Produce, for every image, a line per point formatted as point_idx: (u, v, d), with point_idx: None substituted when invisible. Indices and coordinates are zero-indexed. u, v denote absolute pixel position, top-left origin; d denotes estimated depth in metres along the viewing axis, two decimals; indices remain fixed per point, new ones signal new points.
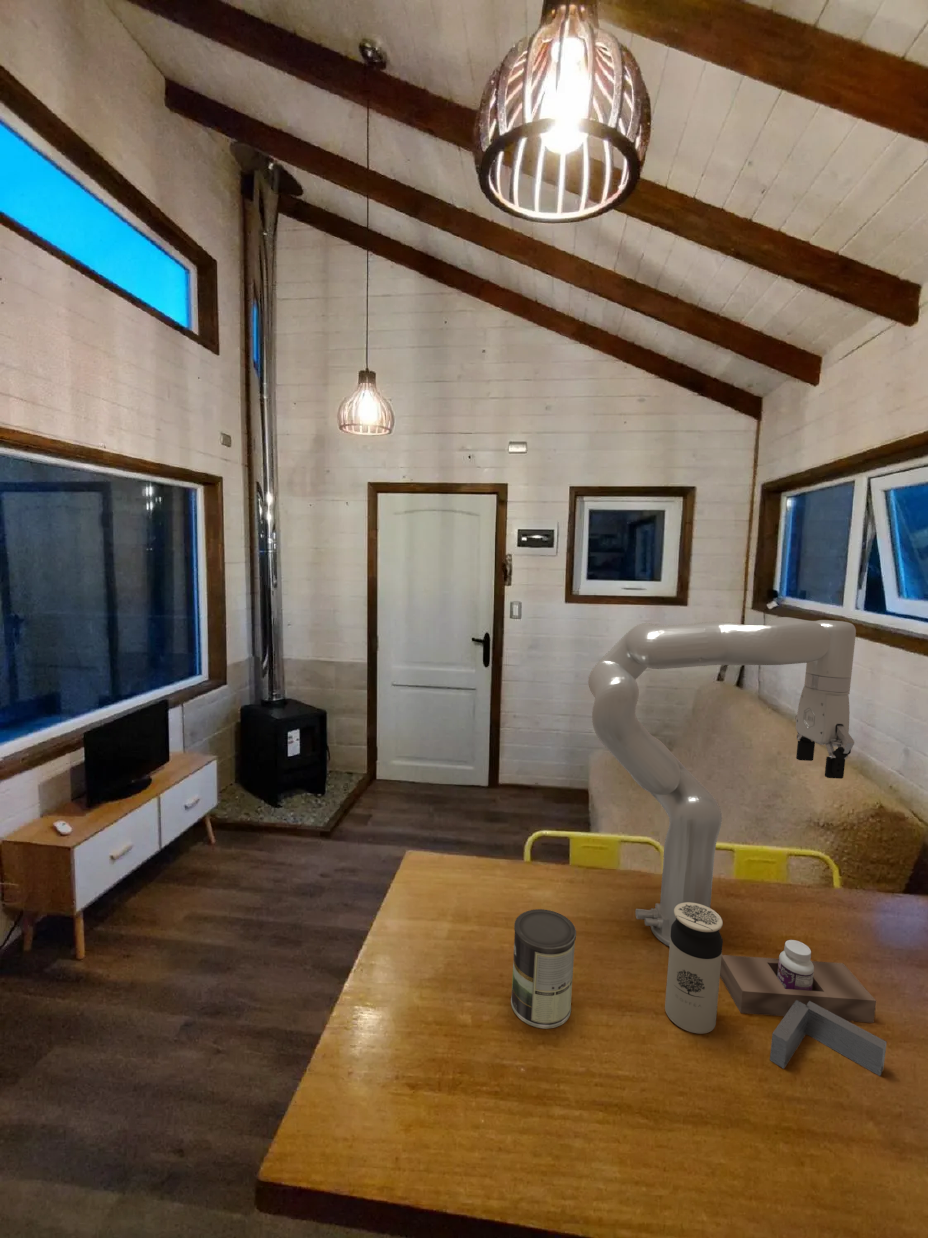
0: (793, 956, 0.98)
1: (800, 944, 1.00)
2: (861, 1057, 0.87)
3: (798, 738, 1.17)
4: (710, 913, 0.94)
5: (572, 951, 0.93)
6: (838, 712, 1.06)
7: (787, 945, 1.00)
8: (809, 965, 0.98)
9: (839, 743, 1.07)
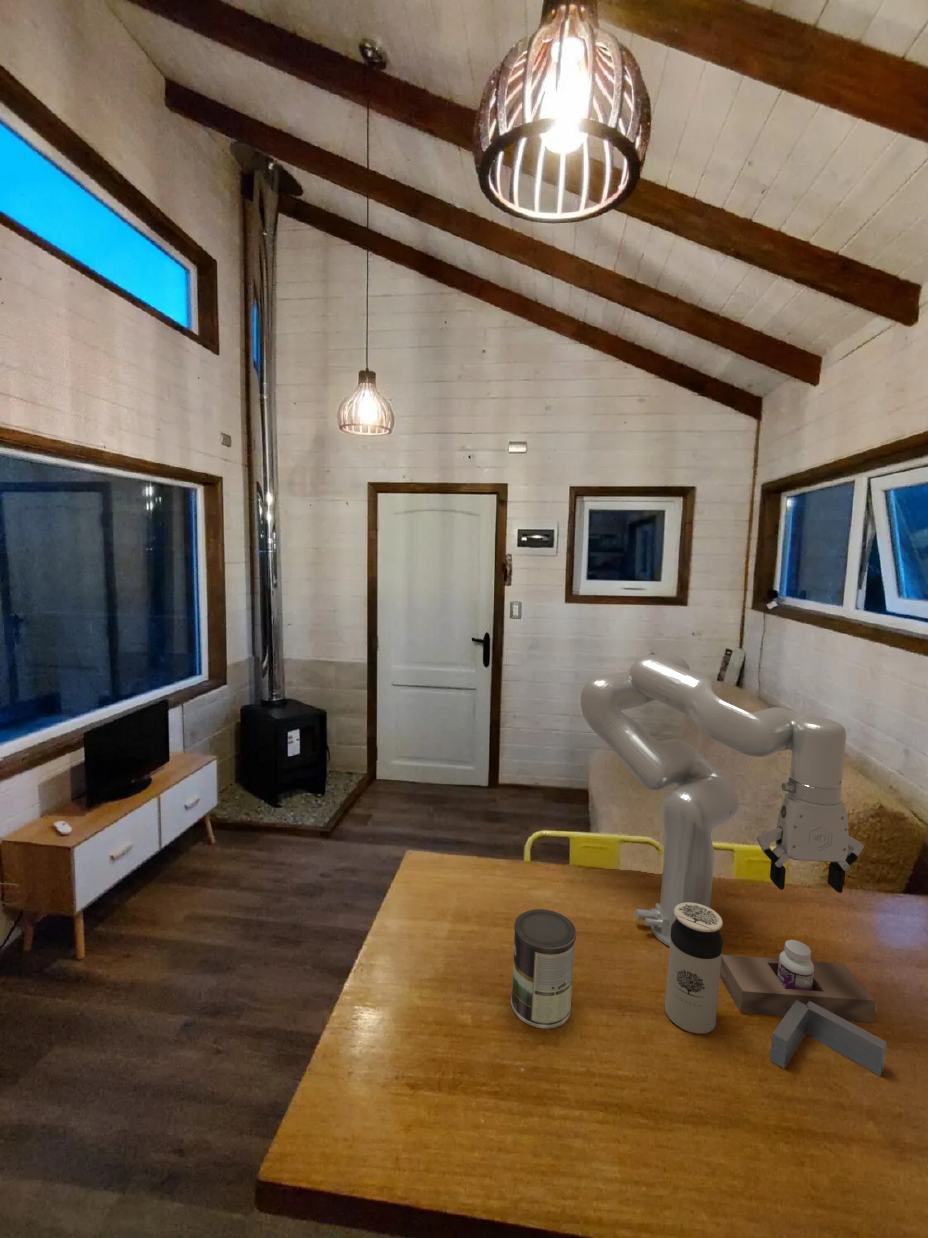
0: (793, 956, 0.98)
1: (800, 944, 1.00)
2: (861, 1057, 0.87)
3: (778, 865, 0.97)
4: (710, 913, 0.94)
5: (572, 951, 0.93)
6: None
7: (787, 945, 1.00)
8: (809, 965, 0.98)
9: None
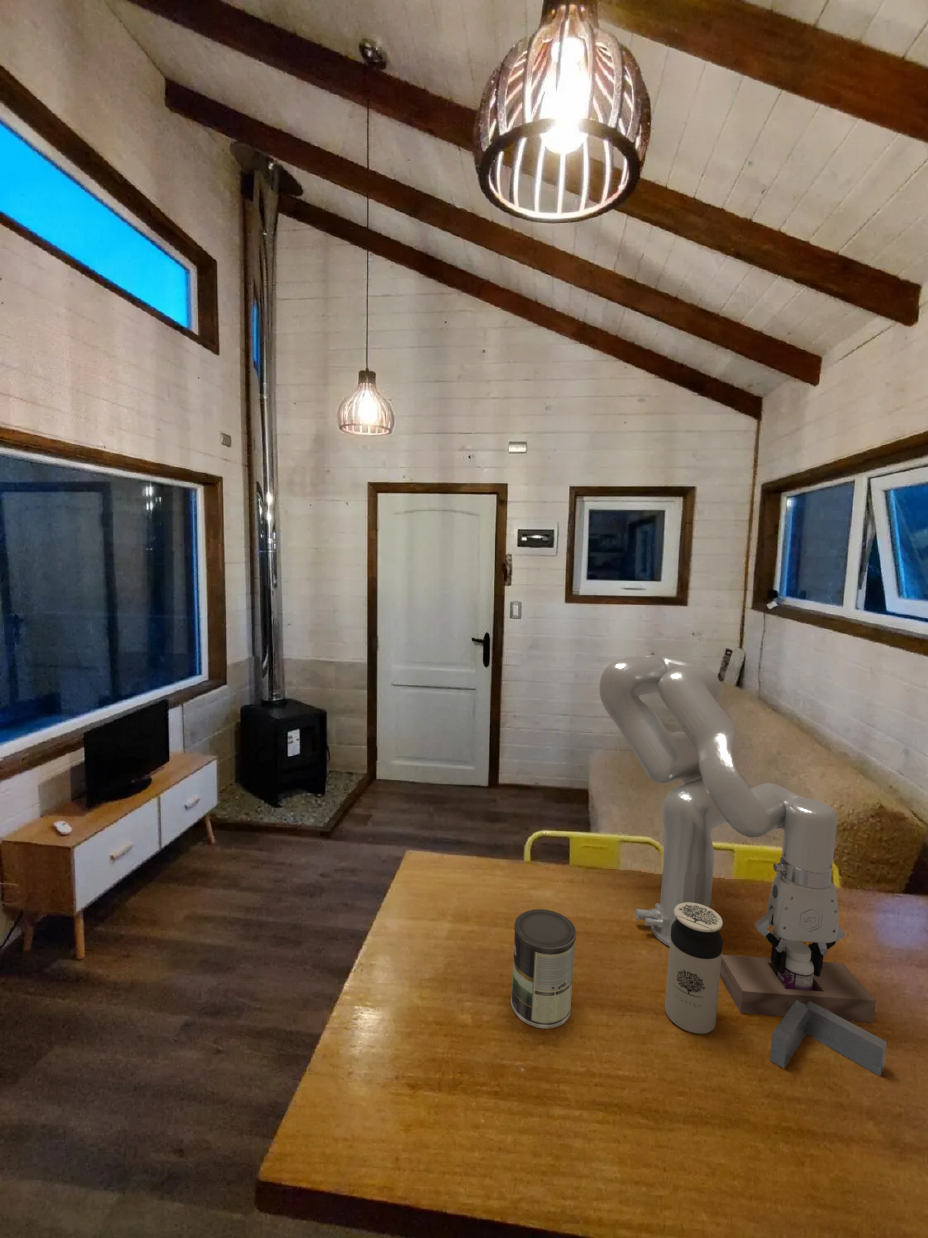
0: (793, 956, 0.98)
1: (800, 944, 1.00)
2: (861, 1057, 0.87)
3: (780, 950, 0.98)
4: (710, 913, 0.94)
5: (572, 951, 0.93)
6: None
7: (787, 945, 1.00)
8: (809, 965, 0.98)
9: None
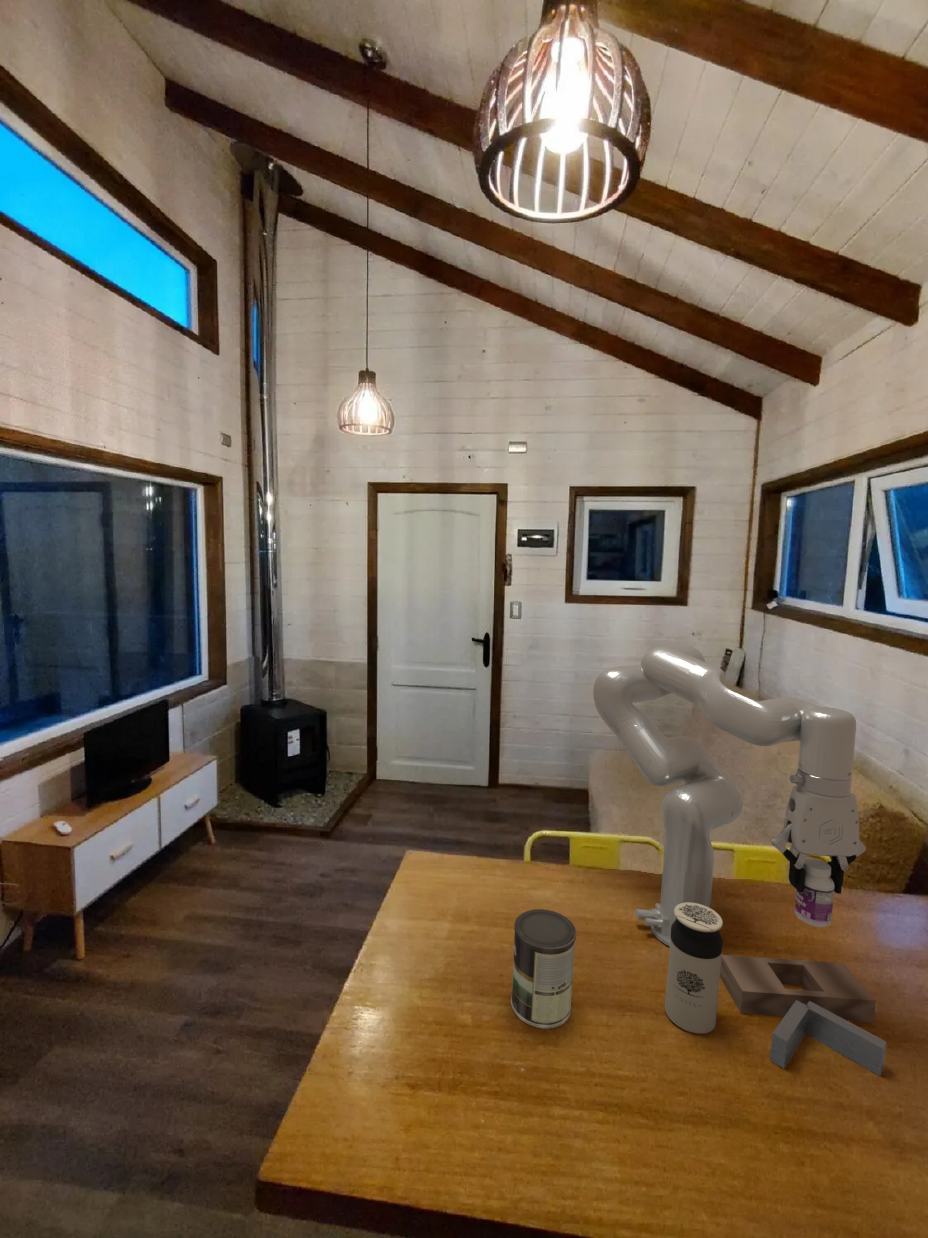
0: (812, 872, 0.93)
1: (819, 861, 0.95)
2: (861, 1057, 0.87)
3: (799, 866, 0.93)
4: (710, 913, 0.94)
5: (572, 951, 0.93)
6: None
7: (806, 862, 0.95)
8: (830, 881, 0.93)
9: None
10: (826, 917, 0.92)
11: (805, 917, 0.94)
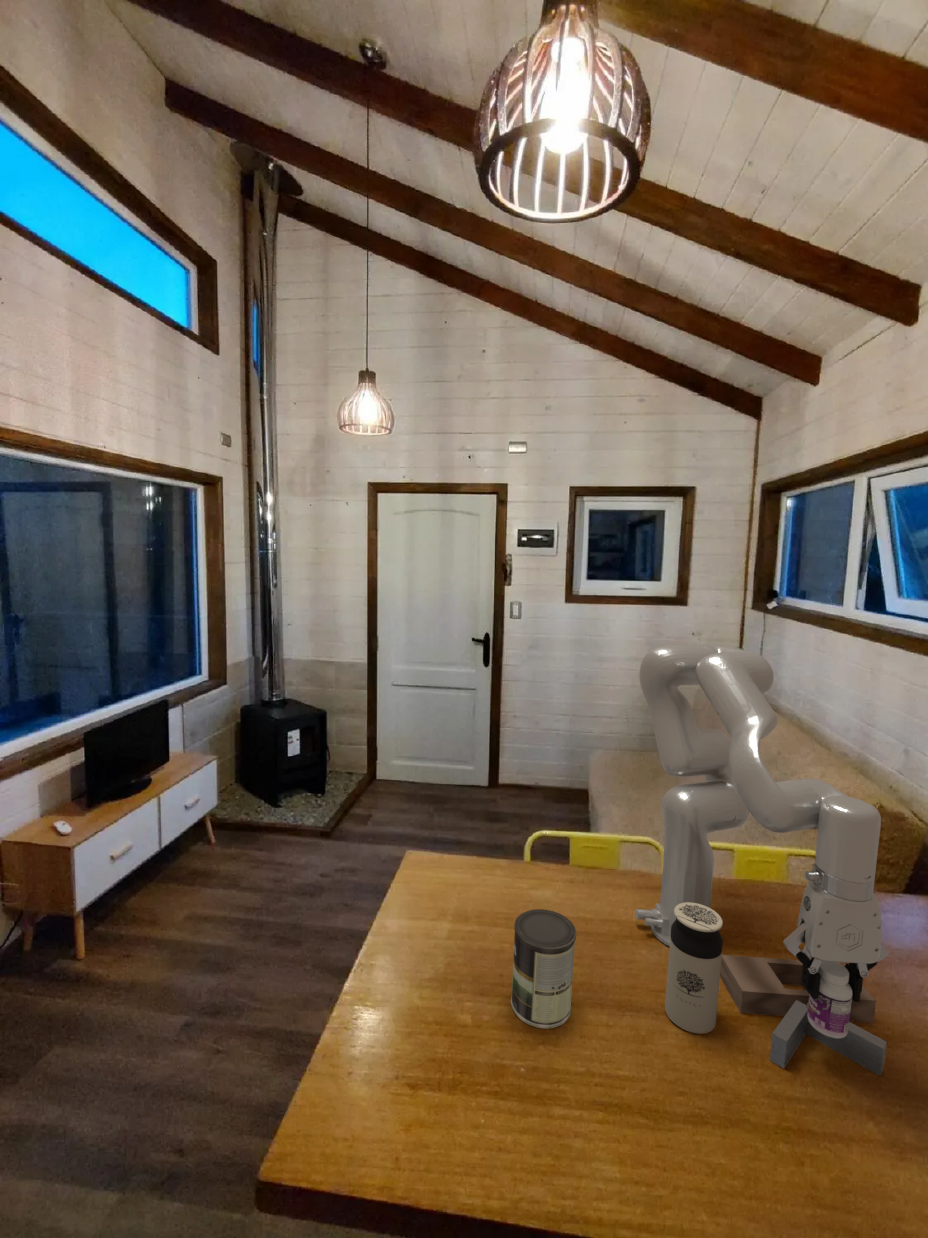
0: (828, 978, 0.85)
1: (836, 964, 0.87)
2: (861, 1057, 0.87)
3: (813, 971, 0.85)
4: (710, 913, 0.94)
5: (572, 951, 0.93)
6: None
7: (821, 965, 0.86)
8: (847, 989, 0.85)
9: None
10: (842, 1028, 0.84)
11: (819, 1025, 0.85)
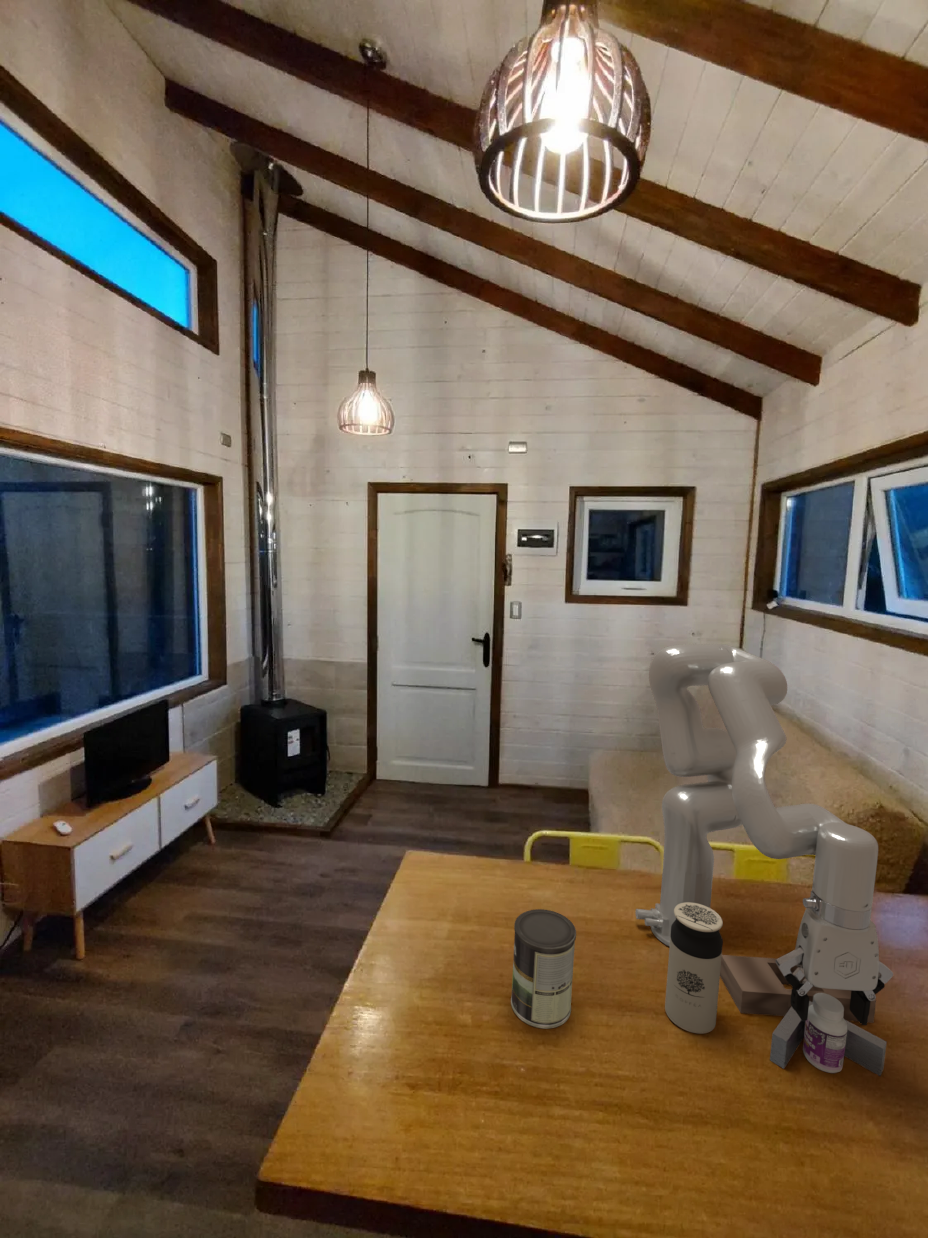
0: (823, 1013, 0.86)
1: (831, 998, 0.87)
2: (861, 1057, 0.87)
3: (801, 993, 0.85)
4: (710, 913, 0.94)
5: (572, 951, 0.93)
6: None
7: (816, 1000, 0.87)
8: (842, 1024, 0.85)
9: None
10: (837, 1063, 0.85)
11: (814, 1060, 0.86)
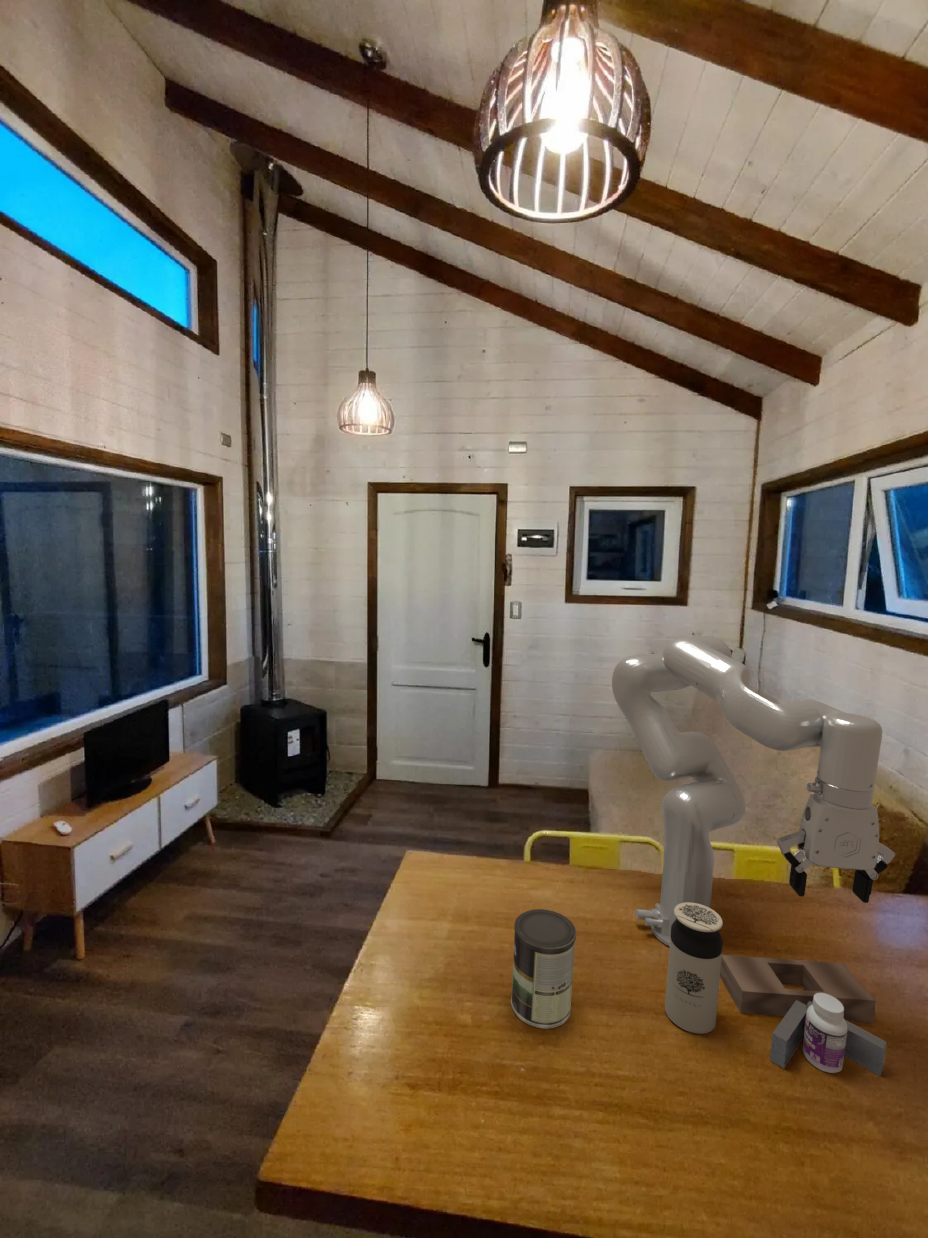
0: (823, 1013, 0.86)
1: (831, 998, 0.87)
2: (861, 1057, 0.87)
3: (799, 870, 0.89)
4: (710, 913, 0.94)
5: (572, 951, 0.93)
6: None
7: (816, 1000, 0.87)
8: (842, 1024, 0.85)
9: None
10: (837, 1063, 0.85)
11: (814, 1060, 0.86)
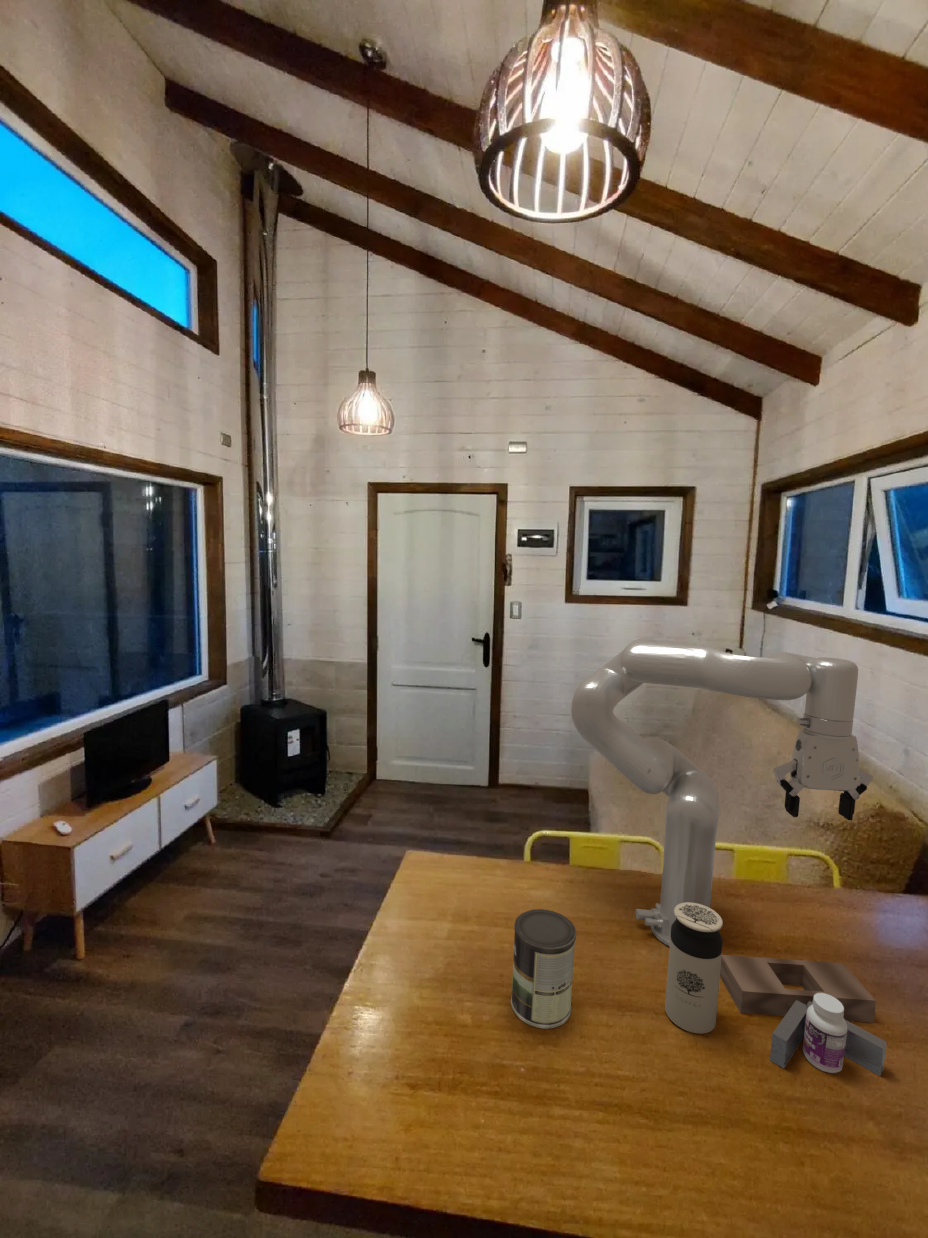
0: (823, 1013, 0.86)
1: (831, 998, 0.87)
2: (861, 1057, 0.87)
3: (793, 794, 1.04)
4: (710, 913, 0.94)
5: (572, 951, 0.93)
6: None
7: (816, 1000, 0.87)
8: (842, 1024, 0.85)
9: None
10: (837, 1063, 0.85)
11: (814, 1060, 0.86)
